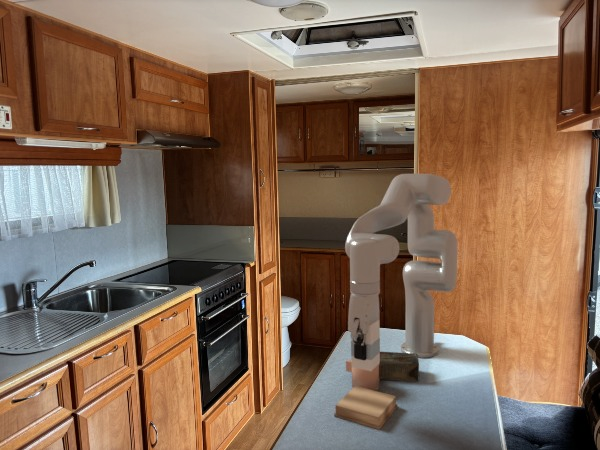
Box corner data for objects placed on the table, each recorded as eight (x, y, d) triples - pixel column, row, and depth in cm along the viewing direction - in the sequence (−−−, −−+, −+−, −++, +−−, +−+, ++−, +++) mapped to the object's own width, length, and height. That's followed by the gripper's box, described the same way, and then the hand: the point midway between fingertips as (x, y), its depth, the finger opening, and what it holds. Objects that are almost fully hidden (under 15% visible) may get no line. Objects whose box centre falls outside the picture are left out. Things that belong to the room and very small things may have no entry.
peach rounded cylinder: (352, 375, 146) (352, 348, 145) (383, 383, 141) (383, 354, 139) (340, 386, 139) (340, 357, 138) (372, 394, 134) (372, 364, 133)
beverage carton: (419, 382, 141) (419, 361, 140) (355, 379, 144) (354, 359, 143) (417, 370, 148) (417, 351, 147) (356, 368, 152) (356, 348, 151)
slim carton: (360, 358, 127) (360, 313, 125) (379, 363, 124) (379, 316, 123) (351, 366, 122) (350, 319, 121) (371, 371, 120) (371, 322, 118)
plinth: (354, 395, 134) (354, 385, 134) (397, 406, 127) (397, 395, 127) (334, 416, 123) (334, 405, 123) (379, 429, 117) (379, 418, 116)
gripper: (365, 278, 130) (365, 341, 132) (336, 293, 115) (337, 364, 118) (391, 281, 126) (391, 345, 128) (364, 297, 111) (365, 370, 114)
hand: (365, 353), depth 123 cm, fingers closed on slim carton, 5 cm apart
